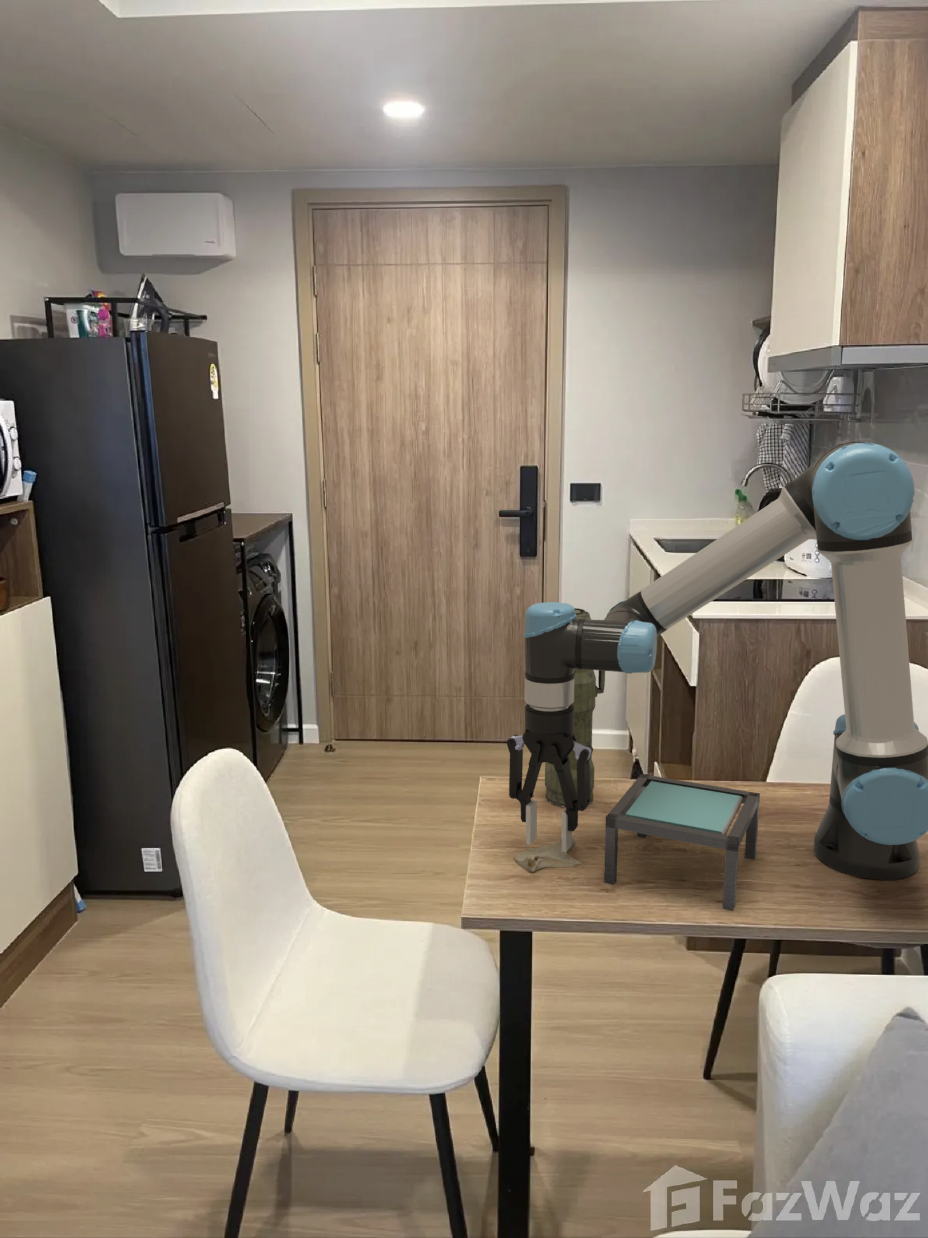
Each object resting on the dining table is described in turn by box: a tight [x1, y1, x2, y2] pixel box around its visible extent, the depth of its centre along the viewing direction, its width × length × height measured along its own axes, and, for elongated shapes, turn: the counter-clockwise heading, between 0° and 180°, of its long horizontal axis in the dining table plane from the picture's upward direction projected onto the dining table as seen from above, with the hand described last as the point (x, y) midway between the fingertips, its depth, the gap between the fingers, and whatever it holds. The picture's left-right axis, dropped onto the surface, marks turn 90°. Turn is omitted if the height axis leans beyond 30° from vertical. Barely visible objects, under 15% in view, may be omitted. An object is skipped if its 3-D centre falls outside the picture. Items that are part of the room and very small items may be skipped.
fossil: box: [513, 836, 582, 873], centre depth 144 cm, size 7×11×3 cm, turn 111°
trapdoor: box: [625, 781, 743, 835], centre depth 139 cm, size 14×14×1 cm
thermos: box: [544, 607, 606, 808], centre depth 164 cm, size 9×12×35 cm
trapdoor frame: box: [603, 773, 761, 912], centre depth 140 cm, size 19×19×10 cm
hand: (548, 844), depth 145 cm, fingers open, 5 cm apart
